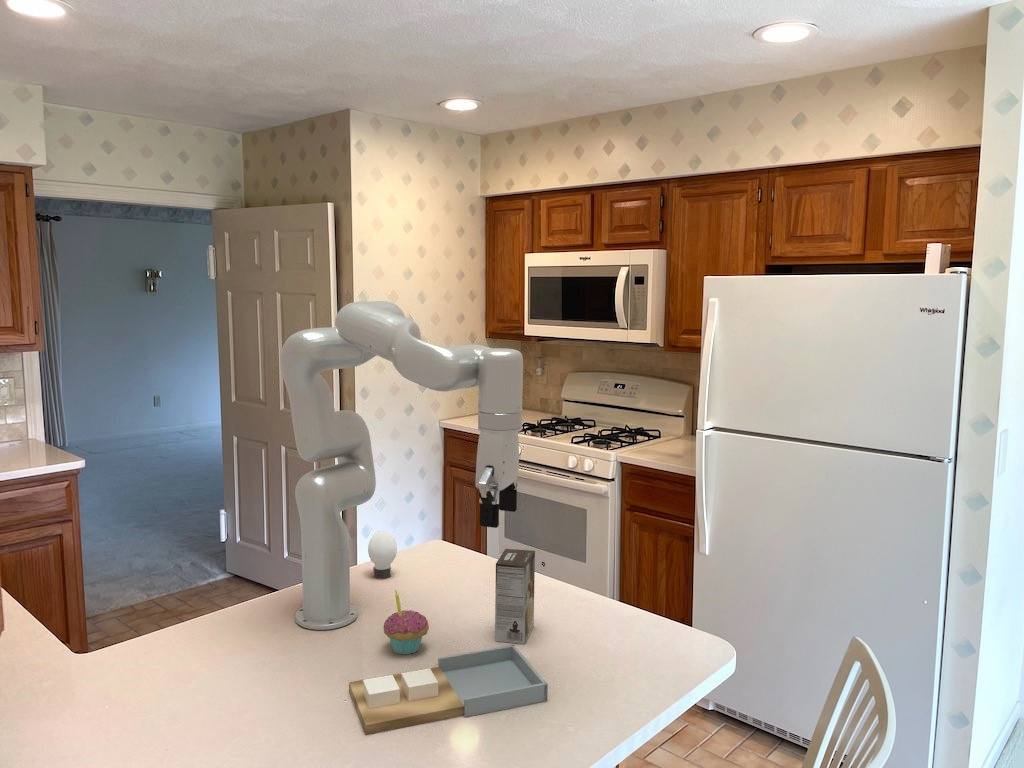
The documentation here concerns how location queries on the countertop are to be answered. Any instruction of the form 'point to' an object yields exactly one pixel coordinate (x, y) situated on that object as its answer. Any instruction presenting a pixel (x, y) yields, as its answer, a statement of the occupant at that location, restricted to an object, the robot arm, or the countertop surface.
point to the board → (407, 707)
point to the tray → (493, 680)
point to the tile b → (419, 684)
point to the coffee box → (514, 596)
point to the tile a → (381, 691)
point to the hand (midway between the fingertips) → (498, 518)
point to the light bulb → (382, 553)
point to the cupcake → (405, 629)
